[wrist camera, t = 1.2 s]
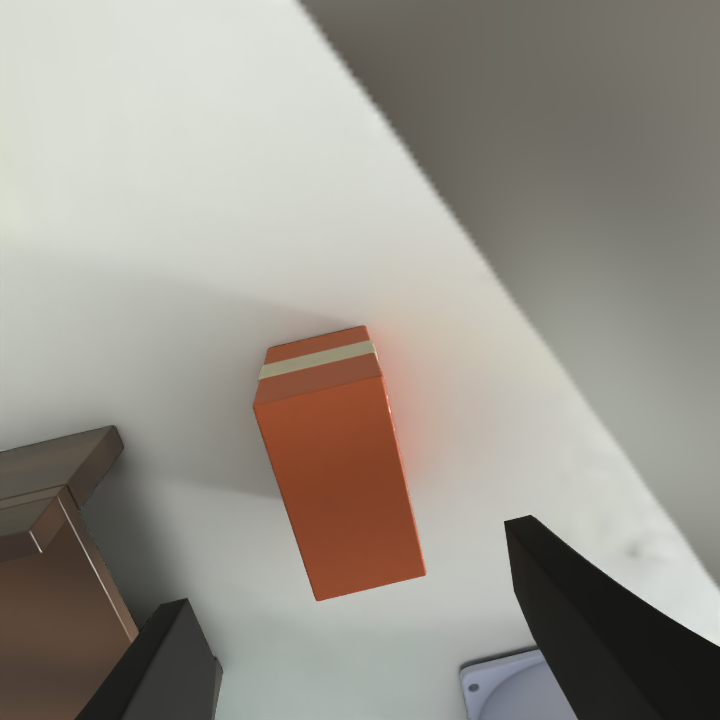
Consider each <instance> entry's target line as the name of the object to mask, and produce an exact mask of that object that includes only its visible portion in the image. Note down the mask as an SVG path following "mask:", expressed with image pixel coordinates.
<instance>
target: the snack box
mask: <svg viewBox="0 0 720 720" xmlns="http://www.w3.org/2000/svg"><path fill="white" fill-rule="evenodd" d="M258 382H259V385H258V389H257V392H256V396H255V400H254V404H253V410H254V413H255V416H256V419H257V422H258V425H259V428H260V431H261V434H262V437H263V441H264V444H265V447H266V450H267V453H268V456H269V459H270V462H271V465H272V468H273V471H274V474H275V477H276V480H277V483H278V486H279V489H280V493H281V496H282V499H283V502H284V505H285V508H286V511H287V514H288V517H289V520H290V523H291V526H292V529H293V532H294V535H295V538H296V541H297V545H298V548H299V551H300V554H301V557H302V560H303V563H304V566H305V569H306V572H307V575H308V578H309V581H310V584H311V587H312V590H313V593H314V597H315V599H316V601H322V600H326V599H330V598H334V597H338V596H343V595H347V594H351V593H355V592H359V591H363V590H367V589H371V588H376V587H380V586H384V585H388V584H392V583H396V582H400V581H405V580H409V579H413V578H417V577H421V576H425V575H426V568H425V563H424V559H423V554H422V549H421V545H420V540H419V536H418V531H417V527H416V522H415V518H414V513H413V509H412V504H411V500H410V495H409V491H408V486H407V482H406V477H405V472H404V468H403V463H402V459H401V454H400V450H399V445H398V441H397V436H396V432H395V427H394V423H393V418H392V414H391V409H390V405H389V400H388V396H387V391H386V386H385V382H384V377H383V374H382V371H381V369H380V366H379V361H378V357H377V352H376V349H375V347H374V344H373V342H372V340H370V338H369V335H368V332H367V329H366V327H365V326H360V327H356V328H351V329H347V330H343V331H339V332H335V333H330V334H326V335H322V336H318V337H314V338H309V339H305V340H301V341H297V342H293V343H288V344H284V345H280V346H276V347H272V348H269V349H268V351H267V355H266V359H265V363H264V365H263V366H262V367H261V370H260V373H259V377H258Z"/></svg>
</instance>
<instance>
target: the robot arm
mask: <svg viewBox="0 0 720 720" xmlns="http://www.w3.org/2000/svg"><path fill="white" fill-rule="evenodd" d="M504 525H505V532H506V539H507V546H508V553H509V559H510V566H511V573H512V580H513V587H514V592H515V595H516V597H517V600H518V602H519V605H520V607H521V609H522V612H523V614H524V617H525V619H526V621H527V624H528V626H529V628H530V631H531V633H532V636H533V638H534V640H535V641H536V643H537V645H538V647H539V649H538V650H533V651H529V652H525V653H521V654H517V655H513V656H509V657H505V658H500V659H496V660H492V661H488V662H484V663H480V664H476V665H472V666H468V667H465V668H464V669H463V670H462V671H461V672H460V680H461V685H462V690H463V694H464V699H465V704H466V708H467V713H468V718H469V720H720V647H719V646H717V645H715V644H714V643H712V642H710V641H708V640H707V639H705V638H703V637H701V636H700V635H698V634H696V633H695V632H693V631H691V630H689V629H688V628H686V627H684V626H683V625H681V624H679V623H678V622H676V621H674V620H673V619H671V618H670V617H668V616H666V615H665V614H663V613H662V612H660V611H659V610H657V609H656V608H654V607H653V606H651V605H650V604H648V603H647V602H645V601H644V600H642V599H641V598H639V597H638V596H636V595H635V594H633V593H632V592H630V591H629V590H627V589H626V588H625V587H623V586H622V585H620V584H619V583H617V582H616V581H615V580H613V579H612V578H611V577H609V576H608V575H607V574H605V573H604V572H602V571H601V570H600V569H598V568H597V567H596V566H594V565H593V564H592V563H590V562H589V561H588V560H586V559H585V558H584V557H583V556H581V555H580V554H579V553H577V552H576V551H575V550H574V549H572V548H571V547H570V546H569V545H567V544H566V543H565V542H564V541H562V540H561V539H560V538H559V537H558V536H556V535H555V534H554V533H553V532H552V531H550V530H549V529H548V528H547V527H546V526H545V525H543V524H542V523H541V522H540V521H539V520H537V519H536V518H535V517H533V516H532V515H528V516H524V517H520V518H516V519H512V520H508V521H504ZM215 678H216V661H215V659H214V657H213V655H212V652H211V650H210V648H209V646H208V643H207V641H206V639H205V637H204V634H203V632H202V630H201V628H200V625H199V623H198V621H197V619H196V616H195V614H194V612H193V610H192V607H191V605H190V603H189V601H188V598H185V599H181V600H177V601H173V602H169V603H164V604H161V605H160V606H159V607H158V608H157V610H156V611H155V612H154V614H153V615H152V616H151V618H150V619H149V620H148V622H147V623H146V624H145V626H144V627H143V629H142V630H141V631H140V633H139V634H138V635H137V637H136V638H135V640H134V641H133V642H132V644H131V645H130V646H129V648H128V649H127V651H126V652H125V653H124V655H123V656H122V657H121V659H120V660H119V662H118V663H117V664H116V666H115V667H114V668H113V670H112V671H111V672H110V674H109V675H108V676H107V678H106V679H105V680H104V682H103V683H102V684H101V686H100V687H99V688H98V690H97V691H96V692H95V694H94V695H93V696H92V698H91V699H90V700H89V702H88V703H87V704H86V705H85V707H84V708H83V709H82V710H81V712H80V713H79V714H78V715H77V717H76V718H75V719H74V720H211V719H212V712H213V702H214V692H215Z"/></svg>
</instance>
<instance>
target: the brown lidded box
mask: <svg viewBox="0 0 720 720" xmlns="http://www.w3.org/2000/svg"><path fill="white" fill-rule="evenodd" d="M122 449H123V444H122V442H121V440H120V438H119V435H118V433H117V431H116V429H115V427H114V426H109V427H105V428H101V429H97V430H93V431H88V432H84V433H80V434H76V435H72V436H67V437H63V438H59V439H55V440H51V441H46V442H42V443H38V444H34V445H30V446H25V447H21V448H17V449H13V450H9V451H4V452H0V720H74V719H75V718H76V717H77V715H78V714H79V713H80V712H81V710H82V709H83V708H84V707H85V705H86V704H87V703H88V702H89V700H90V699H91V698H92V696H93V695H94V694H95V692H96V691H97V690H98V688H99V687H100V686H101V684H102V683H103V682H104V680H105V679H106V678H107V676H108V675H109V674H110V672H111V671H112V670H113V668H114V667H115V666H116V664H117V663H118V662H119V660H120V659H121V657H122V656H123V655H124V653H125V652H126V651H127V649H128V648H129V646H130V645H131V644H132V642H133V641H134V640H135V638H136V637H137V635H138V634H139V631H138V629H137V627H136V625H135V623H134V621H133V619H132V617H131V615H130V613H129V611H128V609H127V607H126V605H125V603H124V601H123V599H122V597H121V595H120V593H119V591H118V589H117V587H116V585H115V583H114V581H113V579H112V577H111V575H110V573H109V571H108V569H107V567H106V565H105V563H104V561H103V559H102V557H101V555H100V553H99V551H98V549H97V547H96V545H95V543H94V541H93V539H92V537H91V535H90V533H89V531H88V529H87V527H86V525H85V523H84V521H83V519H82V517H81V515H80V513H79V510H80V509H81V507H82V506H83V505H84V503H85V502H86V500H87V499H88V497H89V496H90V495H91V493H92V492H93V490H94V489H95V488H96V486H97V485H98V483H99V482H100V481H101V479H102V478H103V476H104V475H105V473H106V472H107V471H108V469H109V468H110V466H111V465H112V464H113V462H114V461H115V459H116V458H117V457H118V455H119V454H120V452H121V451H122ZM214 659H215V661H216V678H215V692H214V702H213V712H212V719H211V720H214V718H215V712H216V707H217V701H218V696H219V691H220V685H221V680H222V674H223V672H222V669H221V667H220V665H219V663H218V660H217V658H214Z"/></svg>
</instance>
